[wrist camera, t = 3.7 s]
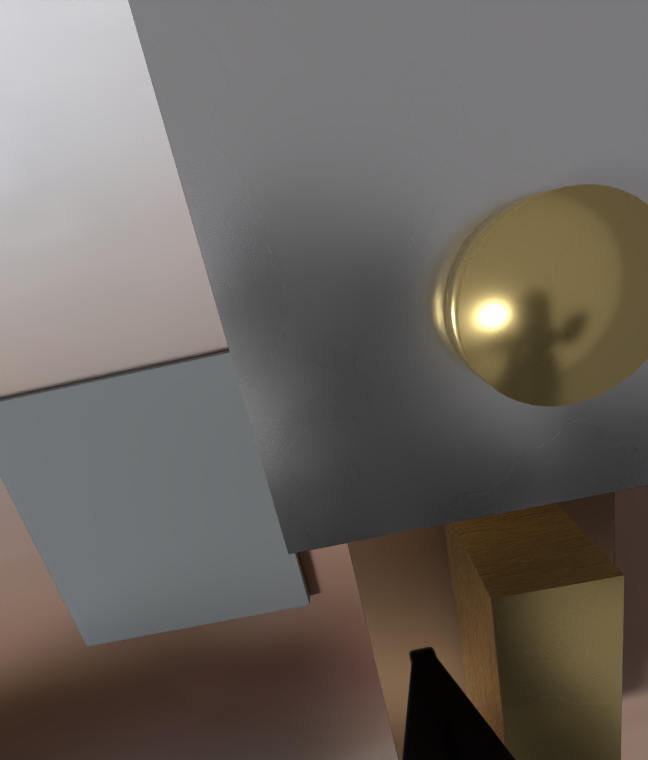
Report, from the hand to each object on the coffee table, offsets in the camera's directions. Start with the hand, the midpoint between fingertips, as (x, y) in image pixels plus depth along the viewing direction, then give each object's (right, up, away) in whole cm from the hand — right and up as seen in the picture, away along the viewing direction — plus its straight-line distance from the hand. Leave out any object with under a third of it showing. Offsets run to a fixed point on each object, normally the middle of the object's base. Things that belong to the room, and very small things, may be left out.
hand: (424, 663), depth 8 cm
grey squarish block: (0, +8, -1) cm, 8 cm away
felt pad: (-7, +2, +4) cm, 8 cm away
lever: (+2, -2, +1) cm, 3 cm away
